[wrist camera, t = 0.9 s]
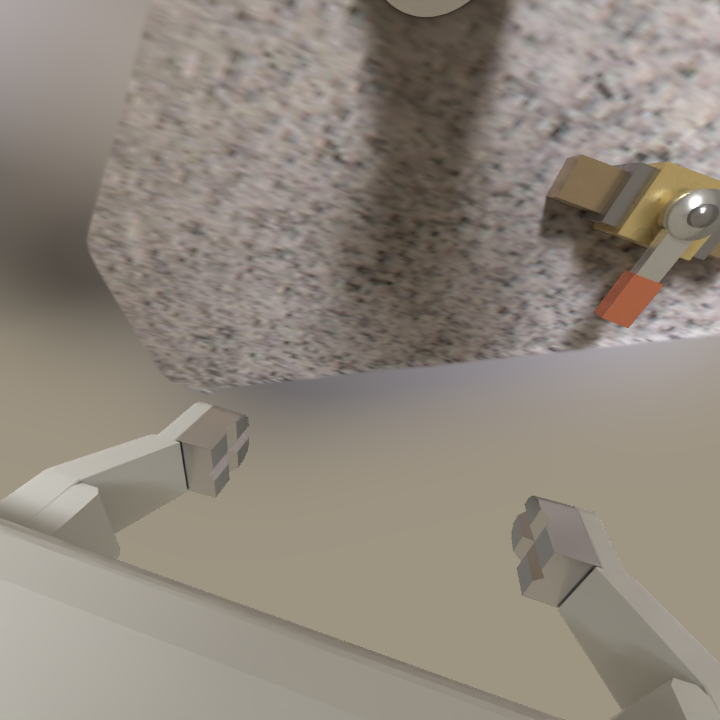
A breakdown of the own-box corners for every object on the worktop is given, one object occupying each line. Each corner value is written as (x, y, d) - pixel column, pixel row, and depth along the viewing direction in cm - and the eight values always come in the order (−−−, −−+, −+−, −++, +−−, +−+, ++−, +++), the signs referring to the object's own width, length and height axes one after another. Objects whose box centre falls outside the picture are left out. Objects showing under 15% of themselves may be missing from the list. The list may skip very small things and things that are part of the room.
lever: (682, 181, 28) (702, 181, 26) (726, 198, 28) (750, 199, 26) (588, 309, 34) (598, 317, 32) (624, 323, 34) (637, 332, 32)
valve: (539, 207, 37) (559, 211, 31) (575, 144, 34) (603, 135, 28) (705, 270, 36) (756, 285, 31) (756, 212, 33) (823, 217, 27)
